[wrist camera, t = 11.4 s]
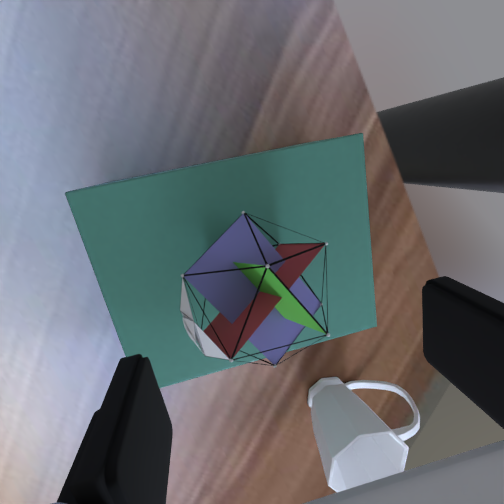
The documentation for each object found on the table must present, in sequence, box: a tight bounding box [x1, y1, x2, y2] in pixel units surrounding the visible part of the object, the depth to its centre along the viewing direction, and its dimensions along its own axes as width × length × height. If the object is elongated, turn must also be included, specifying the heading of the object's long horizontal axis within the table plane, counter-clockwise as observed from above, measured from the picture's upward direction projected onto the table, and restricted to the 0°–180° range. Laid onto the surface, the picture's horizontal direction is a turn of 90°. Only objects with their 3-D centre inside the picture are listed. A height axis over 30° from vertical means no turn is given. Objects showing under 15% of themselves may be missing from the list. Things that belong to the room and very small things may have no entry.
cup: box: [307, 377, 420, 492], centre depth 28 cm, size 7×10×8 cm
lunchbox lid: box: [65, 133, 377, 388], centre depth 19 cm, size 16×13×1 cm
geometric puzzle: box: [180, 211, 330, 367], centre depth 15 cm, size 7×7×8 cm
